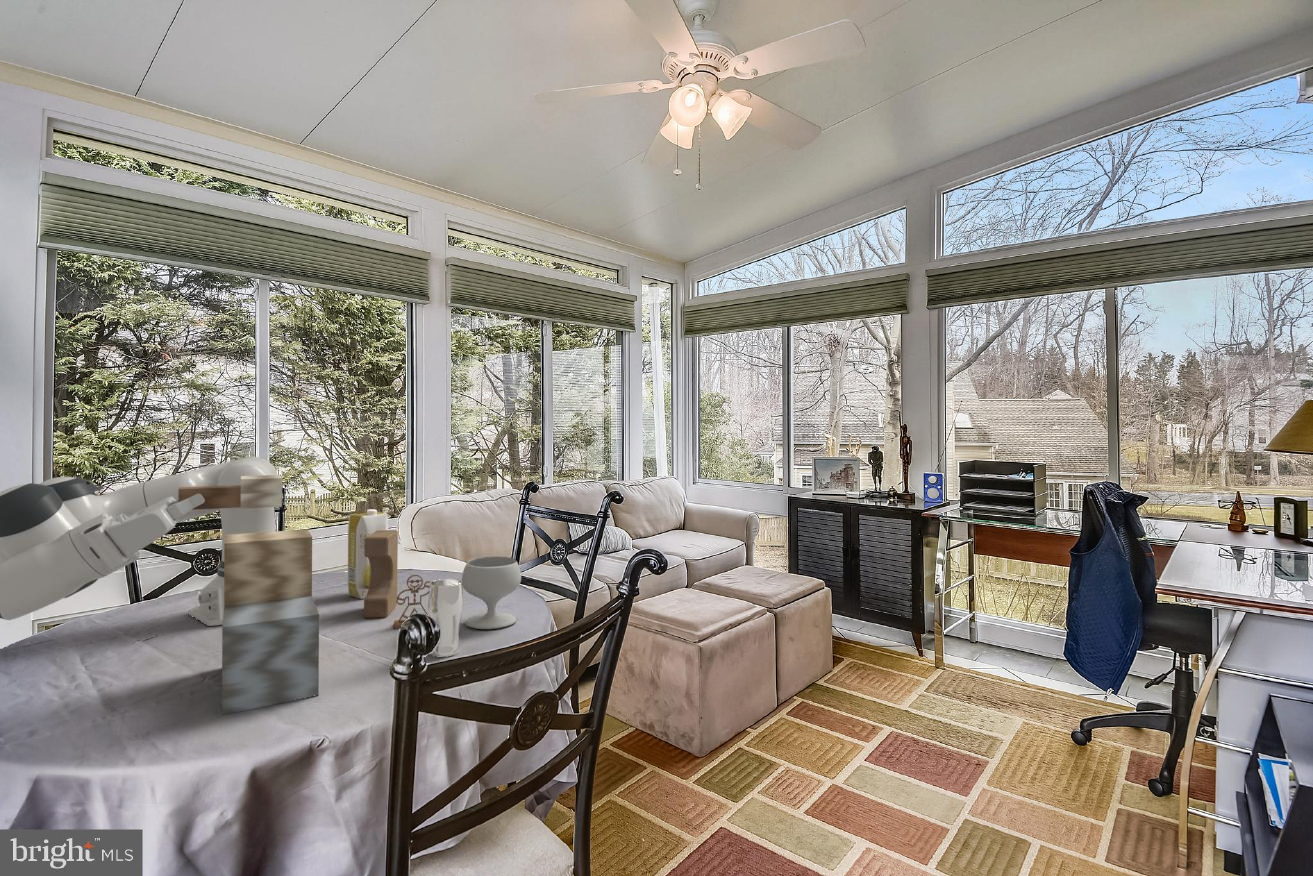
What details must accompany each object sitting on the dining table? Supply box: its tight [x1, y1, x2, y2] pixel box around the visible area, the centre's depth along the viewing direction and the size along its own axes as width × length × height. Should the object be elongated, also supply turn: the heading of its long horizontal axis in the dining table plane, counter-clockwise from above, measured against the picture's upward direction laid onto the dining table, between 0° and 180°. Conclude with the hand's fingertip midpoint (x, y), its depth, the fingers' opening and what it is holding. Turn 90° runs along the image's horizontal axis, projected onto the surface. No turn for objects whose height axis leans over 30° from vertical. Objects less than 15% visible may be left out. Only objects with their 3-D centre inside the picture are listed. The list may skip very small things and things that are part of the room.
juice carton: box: [347, 508, 389, 600], centre depth 173 cm, size 9×8×24 cm
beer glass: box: [427, 577, 464, 658], centre depth 131 cm, size 7×7×15 cm
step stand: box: [221, 529, 320, 716], centre depth 115 cm, size 14×24×26 cm, turn 34°
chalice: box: [461, 556, 522, 630], centre depth 151 cm, size 14×14×15 cm
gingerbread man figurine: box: [393, 574, 431, 630], centre depth 149 cm, size 9×4×12 cm, turn 115°
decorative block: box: [363, 529, 399, 619], centre depth 158 cm, size 11×6×20 cm, turn 9°
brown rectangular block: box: [178, 474, 283, 510], centre depth 107 cm, size 14×7×5 cm, turn 124°
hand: (203, 495), depth 105 cm, fingers closed on brown rectangular block, 3 cm apart
